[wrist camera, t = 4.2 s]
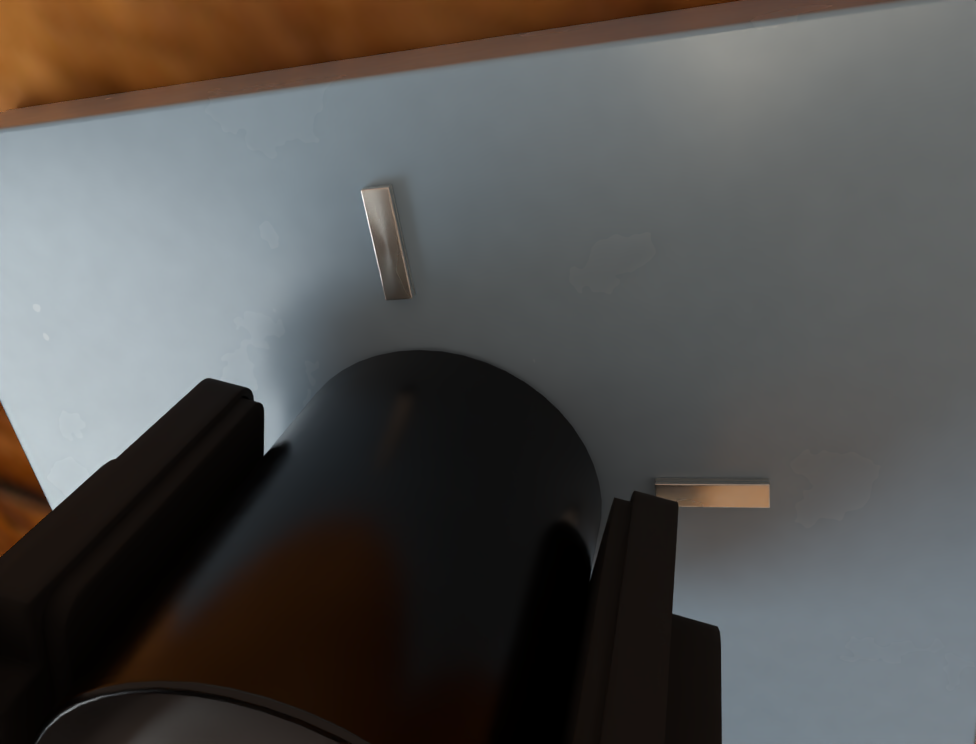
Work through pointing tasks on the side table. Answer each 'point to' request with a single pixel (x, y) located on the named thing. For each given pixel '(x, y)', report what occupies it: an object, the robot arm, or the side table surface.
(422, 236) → the dial base
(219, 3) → the side table surface
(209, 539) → the dial knob
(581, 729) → the robot arm
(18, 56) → the side table surface
